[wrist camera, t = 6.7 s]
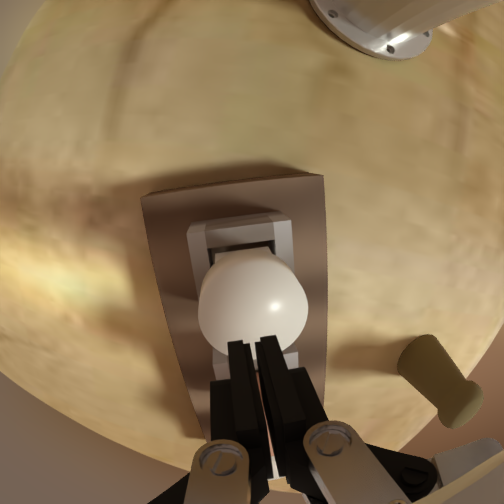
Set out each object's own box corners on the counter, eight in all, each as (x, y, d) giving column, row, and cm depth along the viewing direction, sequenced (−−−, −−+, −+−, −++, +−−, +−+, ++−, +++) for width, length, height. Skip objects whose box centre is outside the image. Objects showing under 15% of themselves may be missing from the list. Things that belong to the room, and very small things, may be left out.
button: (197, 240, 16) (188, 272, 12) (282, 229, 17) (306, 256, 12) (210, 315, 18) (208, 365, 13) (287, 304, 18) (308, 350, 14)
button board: (150, 192, 21) (126, 204, 15) (310, 173, 22) (340, 178, 16) (213, 439, 29) (214, 480, 24) (313, 424, 30) (327, 462, 25)
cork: (388, 372, 29) (434, 439, 19) (418, 329, 28) (477, 389, 17) (417, 378, 30) (462, 436, 20) (445, 340, 29) (499, 392, 19)
